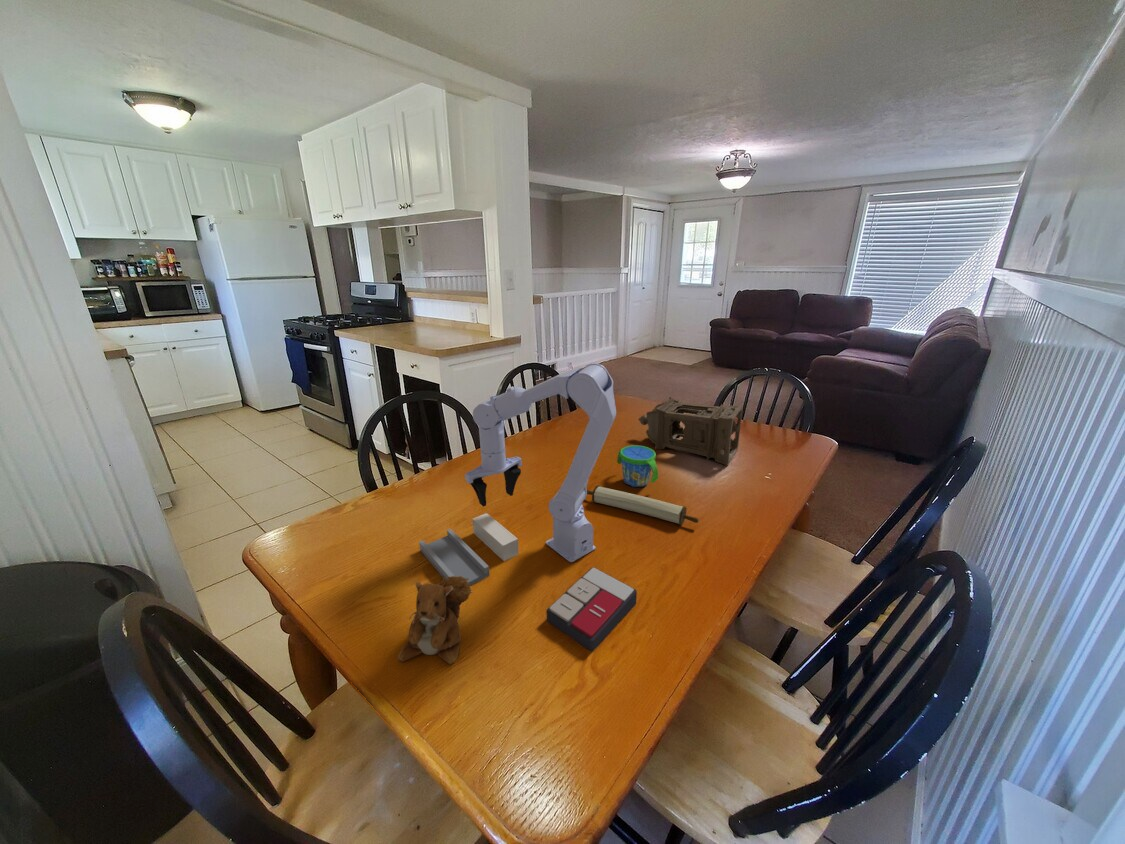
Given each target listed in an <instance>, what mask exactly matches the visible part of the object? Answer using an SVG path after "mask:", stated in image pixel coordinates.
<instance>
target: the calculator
mask: <svg viewBox="0 0 1125 844" xmlns="http://www.w3.org/2000/svg"><path fill="white" fill-rule="evenodd" d="M637 594H638V592H637V589H635V588H634V587H632V586H630V585H629V584H626V583H624V582H622V581H621V580H619V579H617V578H616V577H613V576H611V575H609V574H608V573H606V572H604V571H602V570H600V569H599V568H596V567H594V566H593V567H591V568H589V570H587V571H586V572H585V573H584V574H583V575H582V576H581V577H580V578H579V579H578V580H577V581H576V582H574V584H572V585H571V586H570V587H569V588H568V589H567V590H566V591H565V592H564V593H563V594H562V595H561V596H560V597H558V599H556V600H555V601H554V602H553V603H552V604H551V605H550V606H549V607H547V609H546V611H545V613H546V621H547V623H549V624H550V625H552V626H553V627H555V628H556V629H558V630H559V631H561V632H562V633H563V634H565V635H566V636H568V637H569V638H571V639H572V640H574V641H575V642H577V643H578V644H580V645H581V646H583V647H584V648H585V649H586V650H589V651H591V652H594V651H595V650H596V649H597V648H598V646H600V645H601V643H602V642H603V641H604V640H605V639H606V638H607V637H608V636H609V635H610V633H612V631H613V630H614V629H615V628H616V626H617V625H618V624H619V623H620V622H621V620H623V618H624V617H625V616H627V615H628V614H629V612H630V611H632V609H633V608H634V607H635V606H636V605H637Z"/></svg>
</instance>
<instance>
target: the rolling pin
mask: <svg viewBox="0 0 1125 844" xmlns="http://www.w3.org/2000/svg"><path fill="white" fill-rule="evenodd" d="M587 495H591V501H592V503H594V504H596V503H598V504H602V505H605V506H610V507H614V508H618V509H622V510H626V511H631V512H634V513H639V514H642V515H646V516H649V517H654V518H657V519H661V520H664V521H668V522H671V523H674V524H677V525H679V526H680V527H681V526H683V524H684V523H685V520H688V521H690V522H692V523H695V524H697V523H699V521H700V520H699V518H698V517H695V516H690V515H687V506H682V505H677V504H674V503H670V502H667V501H666V502H665V501H664V500H659V499H656V498H651V497H647V496H643V495H639V494H634V493H629V492H626V491H622V490H616V489H612V488H608V487H603V486H601V485H598V484H597V485H596V486H595V487H594V488H593V490H589V489H587Z"/></svg>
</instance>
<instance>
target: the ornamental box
mask: <svg viewBox="0 0 1125 844" xmlns="http://www.w3.org/2000/svg"><path fill="white" fill-rule="evenodd" d="M743 407H744V406H743V405H729V406H728V407H724V406H723V404H722V403H721V405H720V406H716V405H703V404H691V403H683V402H679V400H677V399H675V398H674V397H673V396H670V397H669V398H668V400H667V401H666V402H665V401H664V402H662V403H659V404H657V405H656V406H655V407H654V408H653V409H652V410H650V411H646V413H645V414H642V415H641V416H640V417H639V418H638V420H637V421H639V423H640V424H641V425H642V426H646V425H647V426H648V429H646V431H645V433H646V435H647V437H648V440H649V441H651V443H652V444H654V445H655V447H654V450H664V449H665V448H669V449H673V450H678V451H682V452H687V453H690V454H695V455H699V456H702V457H703V456H704V457H706V461H708V460H710V458H711V459H712V458H713V459H714V461H715V462H717V463H719V464H723V465H724V466H726V467H729V465H730V463H731V461H732V460H733V459H734V457H735V455H736V453H737V451H738V449H739V441H740V433H741V426H742V425H741V424H742V420H743V419H742V418H743V409H744V408H743ZM736 418H737V420H735V419H736ZM681 423H682V424H683V426H684V427H683V426H682V425H681ZM734 433H735V435H734V438H732V435H733V434H734ZM680 437H681V439H680Z"/></svg>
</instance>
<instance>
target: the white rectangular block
mask: <svg viewBox="0 0 1125 844" xmlns="http://www.w3.org/2000/svg"><path fill="white" fill-rule="evenodd" d="M472 529H473V534H474V535H475V536H476V538H478V539H479V540H481V542H483V543H484V544H485V545H486V546H487V547H488V549H490V550H491V551H492V552H493V553H494V554H496V556H498V557H499V558H500V559H501V560H502V561H503V562H506V561H507V560H510V559H512V558H514V557H516V556H517V555H519V553H520V552H519V551H520V550H519V538H518V537H516V536H515V535H514V534H513V533H511V532H510V531H509V530H508V529H507V528H506V527H504V526H503V525H502V524H501V523H500V522H498V521H497V520H496V519H494V518H493V517H492V516H491V515H490V514H488V512H485V513H483V514H481V515H478V516H476V517H474V518H472Z"/></svg>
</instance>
